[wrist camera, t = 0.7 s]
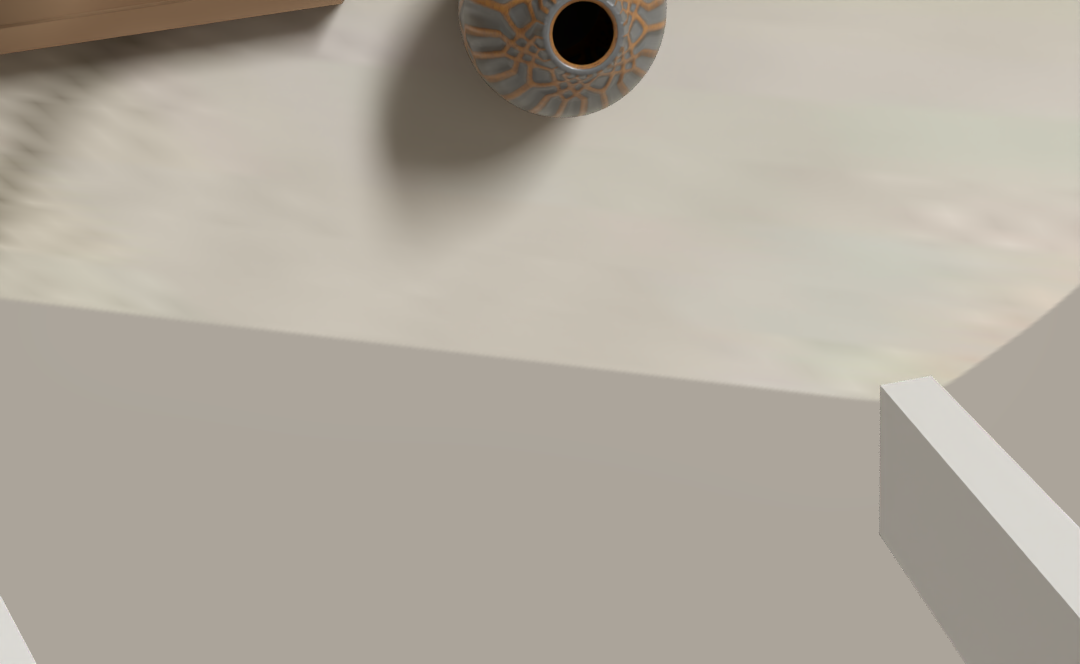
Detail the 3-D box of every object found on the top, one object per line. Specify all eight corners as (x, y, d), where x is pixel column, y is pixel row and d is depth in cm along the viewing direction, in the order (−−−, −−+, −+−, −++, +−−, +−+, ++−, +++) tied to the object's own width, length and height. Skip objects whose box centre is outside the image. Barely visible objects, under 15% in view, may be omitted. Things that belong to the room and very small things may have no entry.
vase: (507, 123, 38) (528, 190, 30) (421, -48, 35) (420, -25, 27) (669, 42, 37) (735, 88, 29) (596, -141, 34) (647, -144, 26)
